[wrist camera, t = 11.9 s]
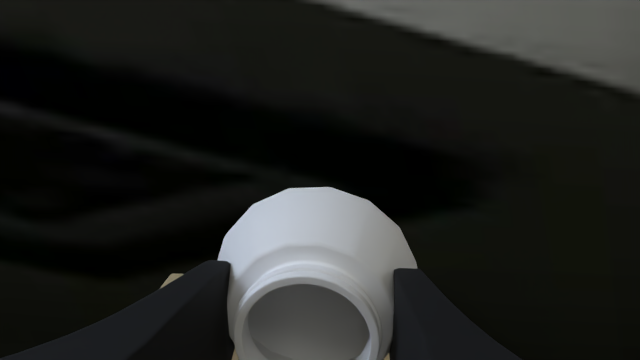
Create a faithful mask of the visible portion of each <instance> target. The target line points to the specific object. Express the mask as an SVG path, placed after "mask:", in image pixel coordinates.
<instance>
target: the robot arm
mask: <svg viewBox="0 0 640 360" xmlns="http://www.w3.org/2000/svg"><path fill="white" fill-rule="evenodd" d="M230 266H231V263H229V262H228V261H217V260H209V261H206V262H204V263H202V264H200V265H199V266H197V267H195V268H193V269H192V270H190V271H188V272H187V273H185V274H184V275H182V276H180V277H179V278H177V279H175V280H174V281H172V282H170V283H169V284H167V285H165V286H164V287H162V288H160V289H159V290H157V291H156V292H154V293H152V294H150V295H149V296H147V297H145V298H143V299H141V300H139V301H138V302H136V303H134V304H132V305H130V306H128V307H127V308H125V309H123V310H121V311H119V312H117V313H115V314H113V315H111V316H109V317H107V318H105V319H103V320H101V321H99V322H97V323H95V324H92V325H90V326H88V327H85V328H83V329H81V330H78V331H76V332H74V333H71V334H69V335H66V336H64V337H61V338H58V339H56V340H53V341H50V342H47V343H44V344H42V345H39V346H36V347H33V348H30V349H28V350H25V351H22V352H19V353H16V354H13V355H10V356H6V357H3V358H0V360H232V357H233V353H234V349H235V346H234V343H233V341H232V339H231V338H230V336H229V326H228V313H227V296H228V286H229V276H230ZM389 357H390V360H522V359H520V358H519V357H517V356H516V355H515V354H513V353H512V352H510V351H509V350H507V349H506V348H505V347H503V346H502V345H500V344H499V343H498V342H496V341H495V340H494V339H492V338H491V337H490V336H488V335H487V334H486V333H485V332H484V331H482V330H481V329H480V328H479V327H478V326H477V325H475V324H474V323H473V322H472V321H471V320H469V319H468V318H467V317H466V316H465V315H464V314H463V313H462V312H461V311H460V310H459V309H458V308H456V307H455V306H454V305H453V304H452V303H451V302H450V301H449V300H448V299H447V298H446V297H445V296H444V295H443V293H442V292H441V291H440V290H439V289H438V288H437V287H436V286H435V285H434V284H433V283H432V282H431V281H430V279H429V278H428V277H427V276H426V275H425V274H424V273H423V272H422V271H421V270H420V269H412V268H398V269H394V317H393V335H392V343H391V347H390V352H389Z"/></svg>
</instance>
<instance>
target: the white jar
mask: <svg viewBox="0 0 640 360" xmlns="http://www.w3.org/2000/svg"><path fill="white" fill-rule="evenodd" d="M217 261H228V262H229V263H231V266H230V276H229V286H228V296H227V313H228V326H229V336H230V338H231V339H232V341H233V343H234V346H235V350H236V353H237V356H238V358H239V360H383V359H384V358H385V357H386V356H387V355H388V353H389V352H390V347H391V343H392V335H393V317H394V269H398V268H412V269H417V265H416V261H415V259H414V257H413V255H412V252H411V250H410V248H409V246H408V244H407V242H406V240H405V238H404V236H403V233H402V231H401V229H400V227H399V226H398V225H396V224H395V223H394V222H393V221H392V220H391V219H390V218H388V217H387V216H386V215H385V214H384V213H383V212H382V211H380V210H379V209H378V208H377V207H376V206H375V205H374V204H372V203H371V202H370V201H369V200H366V199H363V198H360V197H357V196H354V195H352V194H349V193H346V192H343V191H340V190H337V189H334V188H332V187H315V188H289V189H286V190H284V191H282V192H280V193H277V194H275V195H273V196H271V197H269V198H266V199H264V200H262V201H260V202H257V203H255V204H253V205H252V206H251V207H250V208H249V209H248V210H247V211H246V213H245V214H244V215H243V216H242V217H241V218H240V219H239V220H238V221H237V223H236V224H235V225H234V226H233V227H232V228H231V229H230V230H229V231H228V233H227V234H226V236H225V237H224V240H223V243H222V247H221V250H220V253H219V257H218V260H217Z"/></svg>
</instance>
